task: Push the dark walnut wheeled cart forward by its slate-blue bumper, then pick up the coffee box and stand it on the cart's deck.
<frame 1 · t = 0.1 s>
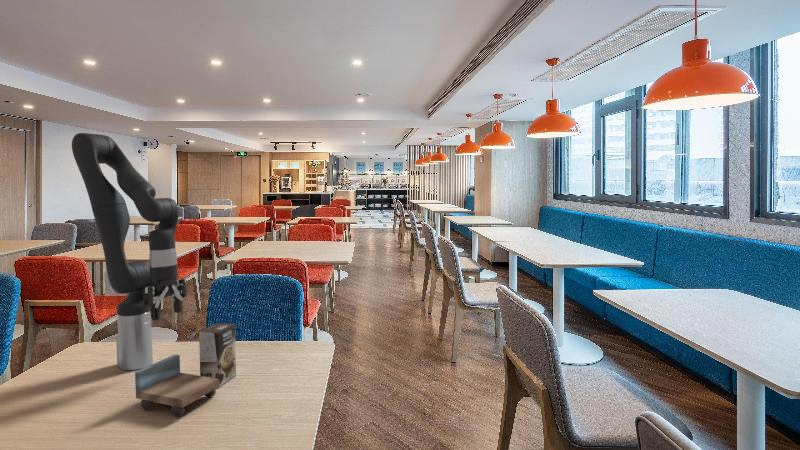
hand: (167, 316, 142), 17 cm above the table, tool pointing down, fingers open, 8 cm apart
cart: (178, 384, 121), point 5 cm above the table, slide at 0.0 cm
coffee box: (218, 381, 136), on the table
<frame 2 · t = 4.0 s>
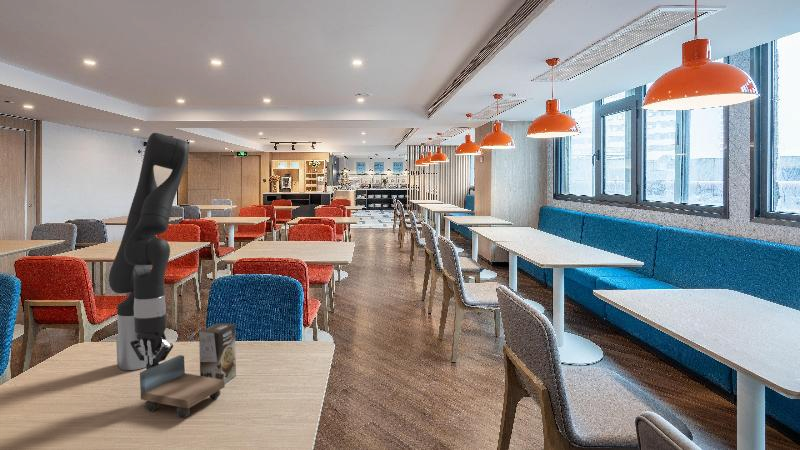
hand: (152, 376, 124), 6 cm above the table, tool pointing down, fingers closed
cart: (183, 385, 121), point 5 cm above the table, slide at 1.6 cm, touching gripper
everything else where it was.
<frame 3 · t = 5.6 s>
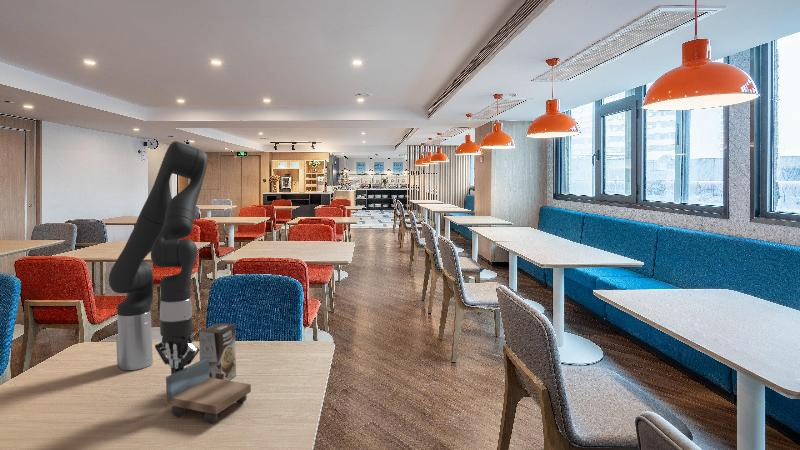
hand: (177, 380, 121), 6 cm above the table, tool pointing down, fingers closed
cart: (209, 390, 118), point 5 cm above the table, slide at 10.1 cm, touching gripper
everything else where it was.
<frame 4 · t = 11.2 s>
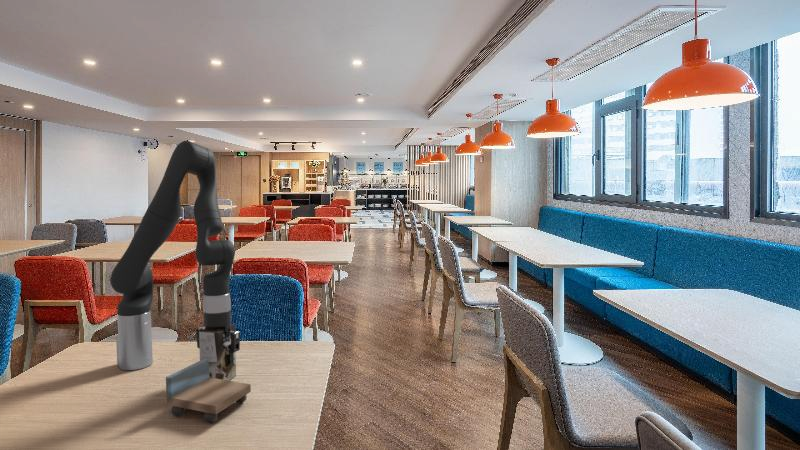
hand: (218, 364, 136), 5 cm above the table, tool pointing down, fingers closed on coffee box, 7 cm apart
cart: (209, 390, 118), point 5 cm above the table, slide at 10.0 cm
coffee box: (219, 381, 136), on the table, touching gripper
when the fingers open (12 cm above the table, at t = 18.1 s): coffee box drops 2 cm, resting on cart.
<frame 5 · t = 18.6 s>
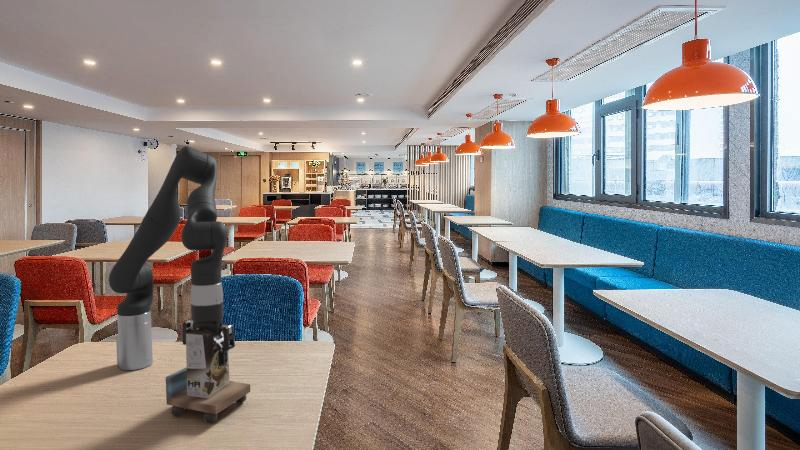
hand: (208, 363, 118), 12 cm above the table, tool pointing down, fingers open, 8 cm apart
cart: (209, 390, 118), point 5 cm above the table, slide at 10.0 cm, touching coffee box
coffee box: (209, 390, 118), point 5 cm above the table, touching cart
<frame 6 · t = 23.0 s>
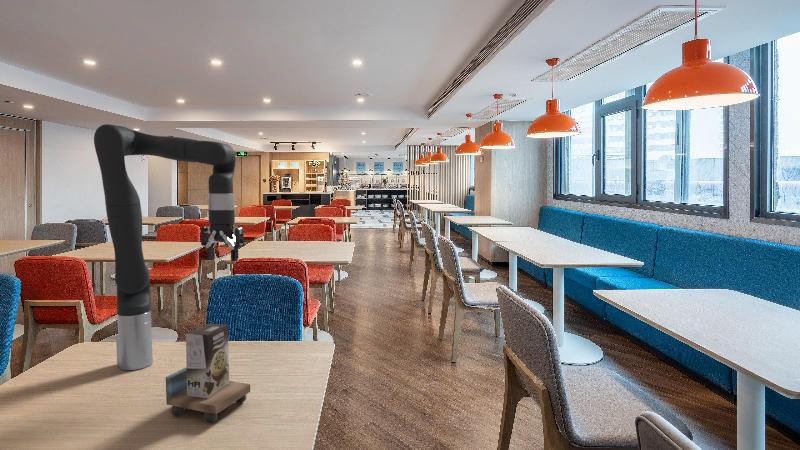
hand: (222, 260, 143), 34 cm above the table, tool pointing down, fingers open, 8 cm apart
nothing on the table moved.
at the end: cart slide at 9.9 cm; coffee box inside the target area on the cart (1.5 cm from its centre), point 4.8 cm above the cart's base; coffee box tilted 0° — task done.
